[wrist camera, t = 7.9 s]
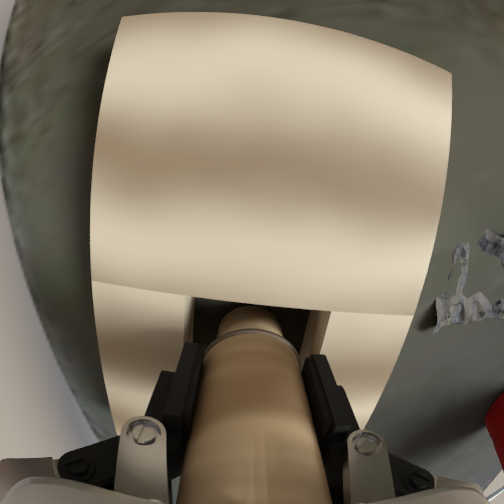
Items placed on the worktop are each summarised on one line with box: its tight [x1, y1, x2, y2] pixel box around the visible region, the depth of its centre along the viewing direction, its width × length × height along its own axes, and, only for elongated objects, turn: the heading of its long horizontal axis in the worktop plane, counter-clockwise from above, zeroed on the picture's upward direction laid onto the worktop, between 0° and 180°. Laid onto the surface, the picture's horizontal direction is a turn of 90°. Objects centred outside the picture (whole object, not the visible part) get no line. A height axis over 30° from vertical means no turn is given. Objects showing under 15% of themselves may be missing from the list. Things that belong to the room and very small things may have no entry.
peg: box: [176, 306, 332, 504], centre depth 9 cm, size 4×4×12 cm
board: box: [90, 12, 452, 436], centre depth 13 cm, size 22×14×3 cm, turn 173°
